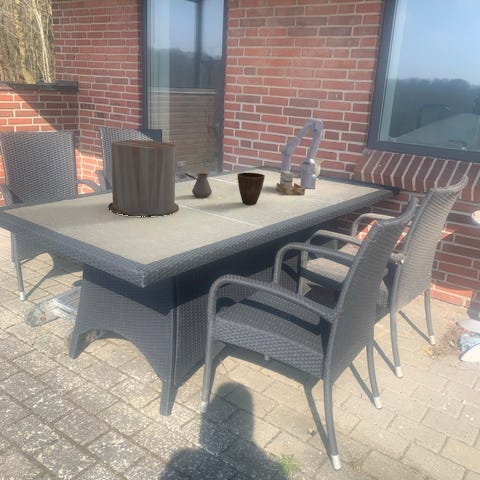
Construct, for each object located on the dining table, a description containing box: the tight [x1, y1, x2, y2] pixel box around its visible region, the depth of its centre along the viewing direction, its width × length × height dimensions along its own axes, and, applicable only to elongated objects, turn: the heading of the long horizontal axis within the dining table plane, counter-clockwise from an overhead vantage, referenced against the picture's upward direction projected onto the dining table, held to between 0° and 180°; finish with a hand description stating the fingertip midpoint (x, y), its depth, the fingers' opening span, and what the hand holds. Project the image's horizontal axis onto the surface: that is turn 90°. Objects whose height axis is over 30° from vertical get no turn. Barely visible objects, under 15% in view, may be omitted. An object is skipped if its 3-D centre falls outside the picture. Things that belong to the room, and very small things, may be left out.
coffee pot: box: [182, 172, 213, 199], centre depth 281 cm, size 21×12×15 cm, turn 144°
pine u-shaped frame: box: [275, 182, 306, 196], centre depth 313 cm, size 13×17×4 cm
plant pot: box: [236, 172, 266, 206], centre depth 274 cm, size 15×15×16 cm
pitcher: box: [299, 158, 325, 179], centre depth 365 cm, size 11×18×14 cm, turn 64°
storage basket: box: [107, 139, 180, 218], centre depth 249 cm, size 35×35×32 cm
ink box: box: [279, 171, 294, 188], centre depth 315 cm, size 8×5×12 cm, turn 19°
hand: (284, 186), depth 323 cm, fingers closed
